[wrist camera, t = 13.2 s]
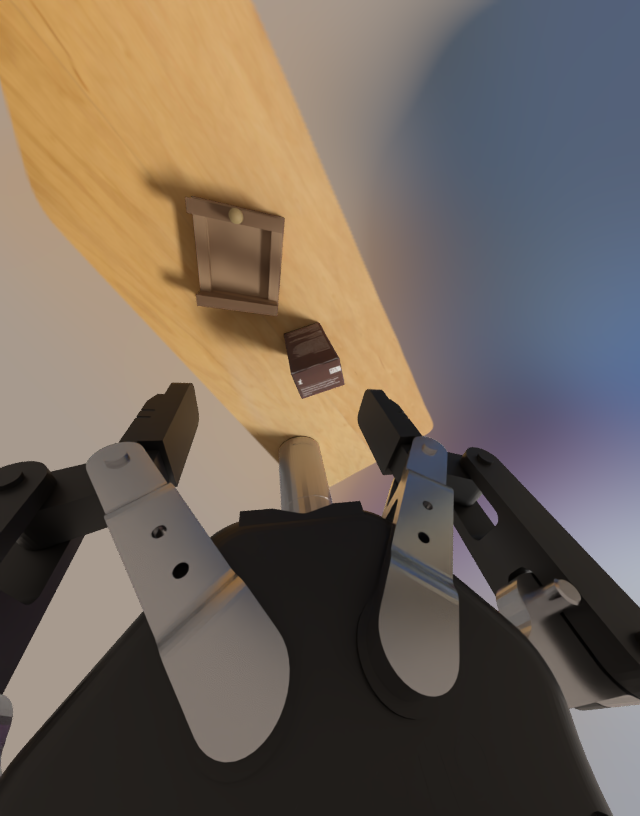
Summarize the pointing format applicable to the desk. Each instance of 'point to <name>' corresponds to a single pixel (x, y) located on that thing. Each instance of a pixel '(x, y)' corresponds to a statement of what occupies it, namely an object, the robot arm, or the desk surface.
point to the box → (313, 360)
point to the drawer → (237, 256)
